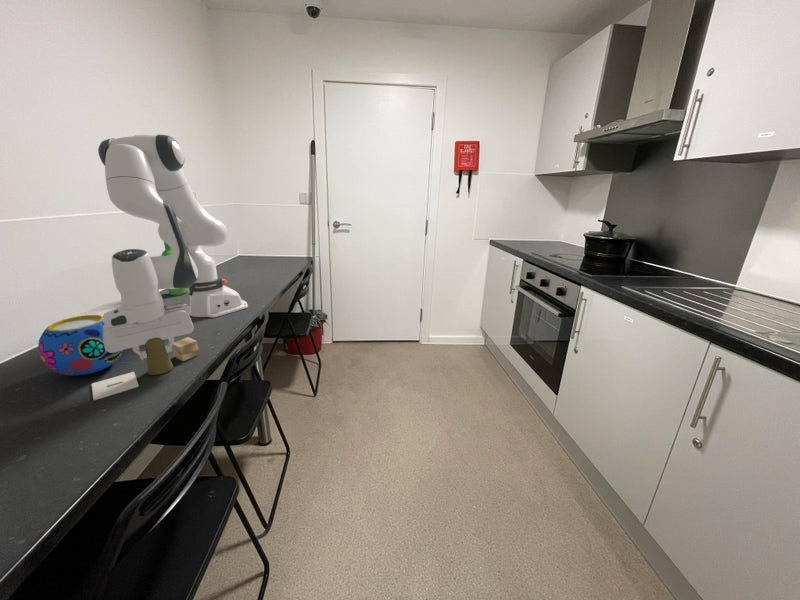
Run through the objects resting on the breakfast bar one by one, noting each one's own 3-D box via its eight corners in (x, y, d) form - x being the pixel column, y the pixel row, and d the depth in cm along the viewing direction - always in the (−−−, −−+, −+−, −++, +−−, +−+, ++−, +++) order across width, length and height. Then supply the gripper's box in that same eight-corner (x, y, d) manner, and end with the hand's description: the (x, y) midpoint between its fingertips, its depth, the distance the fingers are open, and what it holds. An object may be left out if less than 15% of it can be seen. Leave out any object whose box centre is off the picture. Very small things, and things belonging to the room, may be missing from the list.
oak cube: (191, 351, 106) (188, 337, 105) (199, 355, 104) (196, 340, 102) (174, 357, 102) (171, 343, 101) (183, 361, 100) (179, 347, 98)
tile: (134, 373, 93) (133, 371, 93) (138, 386, 87) (138, 384, 87) (92, 385, 87) (91, 383, 87) (93, 400, 81) (93, 398, 81)
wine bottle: (168, 297, 156) (154, 234, 146) (170, 292, 163) (156, 232, 153) (187, 294, 160) (174, 233, 150) (188, 290, 166) (176, 231, 156)
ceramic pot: (95, 387, 86) (78, 336, 81) (30, 385, 87) (9, 334, 82) (145, 355, 103) (133, 311, 98) (90, 354, 103) (75, 310, 98)
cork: (160, 376, 91) (150, 341, 88) (142, 373, 92) (132, 338, 89) (178, 365, 97) (169, 331, 93) (161, 362, 98) (152, 329, 94)
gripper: (186, 298, 97) (195, 340, 102) (94, 316, 84) (110, 363, 89) (191, 304, 93) (200, 347, 98) (96, 323, 80) (112, 372, 84)
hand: (156, 355), depth 93 cm, fingers closed on cork, 4 cm apart
